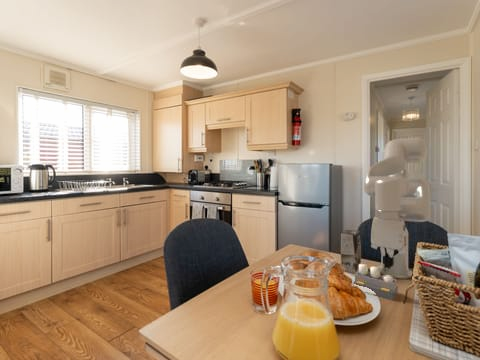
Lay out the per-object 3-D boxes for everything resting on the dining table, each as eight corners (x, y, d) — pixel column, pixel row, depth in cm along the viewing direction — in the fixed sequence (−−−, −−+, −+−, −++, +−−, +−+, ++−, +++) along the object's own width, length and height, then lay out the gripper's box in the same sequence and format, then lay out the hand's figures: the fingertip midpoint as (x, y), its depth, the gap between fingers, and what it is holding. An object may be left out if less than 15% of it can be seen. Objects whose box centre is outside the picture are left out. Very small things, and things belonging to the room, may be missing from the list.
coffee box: (356, 273, 106) (356, 235, 106) (340, 270, 110) (340, 233, 110) (361, 267, 114) (361, 230, 113) (346, 264, 118) (346, 229, 117)
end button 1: (384, 283, 91) (384, 274, 91) (393, 286, 89) (393, 276, 89) (381, 286, 89) (381, 276, 88) (391, 289, 87) (391, 279, 86)
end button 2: (360, 272, 96) (360, 263, 96) (369, 274, 94) (369, 265, 94) (357, 274, 94) (357, 265, 94) (366, 277, 92) (366, 267, 92)
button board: (360, 282, 98) (360, 269, 98) (397, 292, 90) (397, 278, 90) (353, 288, 93) (353, 275, 93) (392, 300, 85) (392, 285, 85)
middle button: (372, 275, 93) (371, 265, 93) (381, 277, 91) (381, 267, 91) (369, 277, 91) (369, 268, 91) (378, 280, 89) (378, 270, 89)
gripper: (416, 215, 85) (416, 268, 87) (368, 210, 96) (368, 258, 97) (411, 219, 80) (411, 276, 81) (361, 214, 90) (361, 265, 92)
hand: (388, 266), depth 89 cm, fingers closed
